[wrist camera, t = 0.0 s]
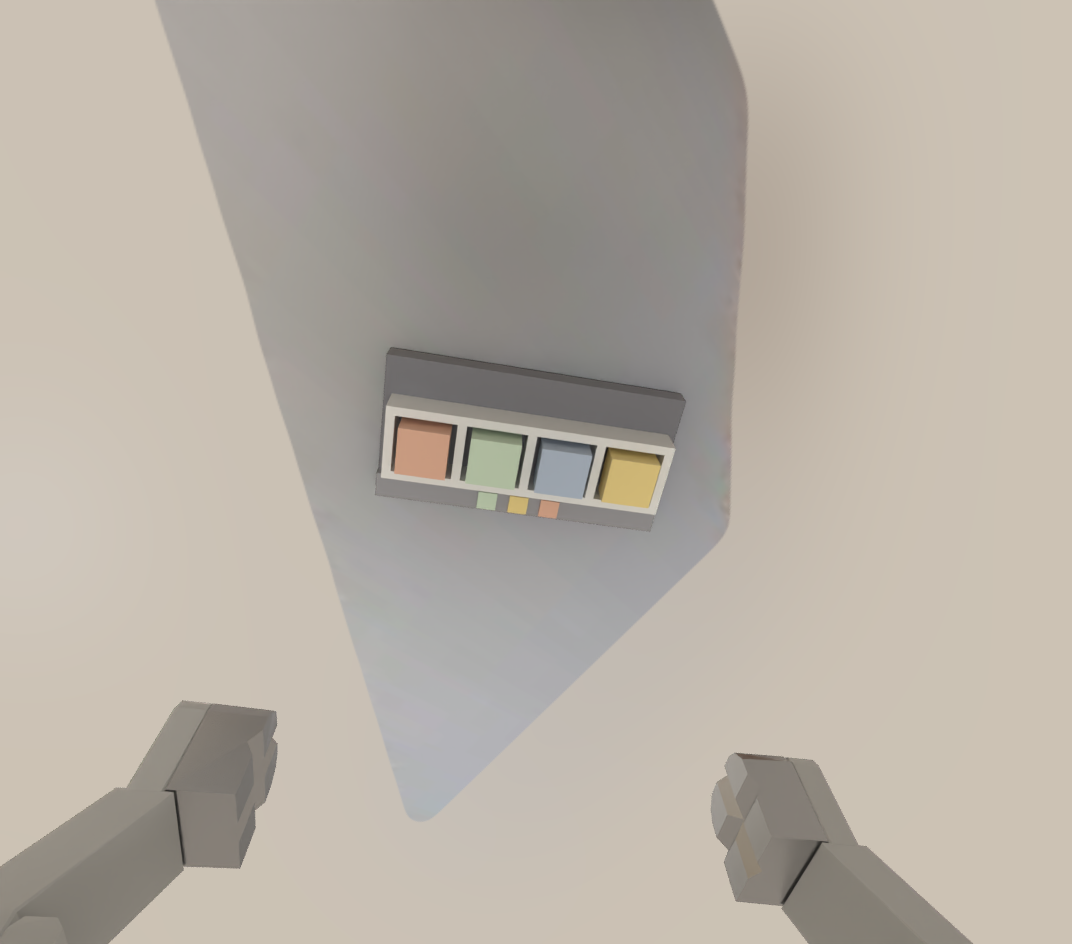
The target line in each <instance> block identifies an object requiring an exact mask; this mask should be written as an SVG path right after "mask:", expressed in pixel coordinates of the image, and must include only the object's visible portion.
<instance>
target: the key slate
mask: <svg viewBox="0 0 1072 944" xmlns="http://www.w3.org/2000/svg"><path fill="white" fill-rule="evenodd" d="M591 460H592V452H591V449H590V445H589V444H584V443H577V442H570V441H564V440H557V439H550V438H543V437H541V442H540V447H539V453H538V458H537V463H536V468H535V473H534V478H533V485H534V493H539V494H546V495H554V496H561V497H568V498H575V499H582V497H583V493H584V489H585V485H586V481H587V477H588V473H589V468H590V464H591Z"/></svg>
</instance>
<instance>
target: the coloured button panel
mask: <svg viewBox="0 0 1072 944" xmlns="http://www.w3.org/2000/svg"><path fill="white" fill-rule="evenodd" d="M685 403H686V401H685V399H684V398H683V396H682V395H681V394H680V393H674V392H667V391H661V390H655V389H649V388H642V387H636V386H630V385H623V384H617V383H611V382H604V381H598V380H592V379H586V378H579V377H573V376H567V375H560V374H554V373H548V372H542V371H535V370H529V369H523V368H516V367H510V366H504V365H498V364H491V363H485V362H479V361H472V360H466V359H460V358H453V357H447V356H441V355H435V354H428V353H422V352H416V351H409V350H403V349H397V348H390V349H389V351H388V353H387V357H386V371H385V385H384V400H383V414H382V428H381V442H380V456H379V469H378V471H377V476H376V490H375V495H378V496H385V497H393V498H400V499H408V500H415V501H423V502H430V503H438V504H445V505H453V506H460V507H468V508H476V509H483V510H491V511H498V512H506V513H513V514H521V515H528V516H536V517H543V518H551V519H558V520H566V521H573V522H581V523H588V524H596V525H604V526H611V527H619V528H626V529H634V530H641V531H649V532H650V530H651V527H652V524H653V520H654V517H655V515H656V511H657V508H658V505H659V502H660V498H661V495H662V492H663V489H664V485H665V482H666V479H667V476H668V472H669V469H670V466H671V463H672V459H673V456H674V453H675V450H676V448H675V446H674V444H673V443H674V439H675V436H676V433H677V429H678V426H679V423H680V420H681V416H682V413H683V410H684V406H685ZM402 417H407V418H414V419H421V420H428V421H435V422H441V423H448V424H453V425H452V433H451V441H450V449H449V457H448V464H447V471H446V476H445V481H444V480H437V479H429V478H422V477H415V476H408V475H400V474H394V469H395V457H396V445H397V433H398V426H399V424H400V421H401V419H402ZM473 427H475V428H482V429H489V430H496V431H503V432H509V433H516V434H522V450H521V455H520V461H519V466H518V472H517V477H516V483H515V488H514V490H510V489H502V488H495V487H488V486H481V485H473V484H466V483H465V479H466V472H467V465H468V458H469V451H470V444H471V437H472V430H473ZM541 437H543V438H550V439H557V440H564V441H570V442H577V443H584V444H589V445H590V449H591V452H592V460H591V464H590V468H589V473H588V477H587V481H586V485H585V489H584V493H583V497H582V499H575V498H568V497H561V496H554V495H546V494H539V493H534V485H533V478H534V473H535V468H536V463H537V458H538V453H539V447H540V442H541ZM608 447H611V448H618V449H625V450H632V451H638V452H645V453H652V454H656V456H657V459H658V461H659V463H660V465H661V468H660V471H659V474H658V478H657V481H656V484H655V488H654V491H653V494H652V498H651V501H650V504H649V508H641V507H634V506H627V505H619V504H612V503H605V502H601V498H600V494H599V490H598V487H599V483H600V479H601V475H602V471H603V467H604V463H605V459H606V455H607V451H608Z"/></svg>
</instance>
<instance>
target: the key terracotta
mask: <svg viewBox="0 0 1072 944" xmlns="http://www.w3.org/2000/svg"><path fill="white" fill-rule="evenodd" d="M452 425H453V424H448V423H441V422H435V421H428V420H421V419H414V418H407V417H402V419H401V421H400V424H399V426H398V433H397V445H396V457H395V469H394V474H400V475H408V476H415V477H422V478H429V479H437V480H444V481H445V476H446V471H447V464H448V457H449V449H450V441H451V433H452Z"/></svg>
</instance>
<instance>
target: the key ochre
mask: <svg viewBox="0 0 1072 944" xmlns="http://www.w3.org/2000/svg"><path fill="white" fill-rule="evenodd" d="M660 468H661V465H660V463H659V461H658V459H657V456H656V454H652V453H645V452H638V451H632V450H625V449H618V448H611V447H608V451H607V455H606V459H605V463H604V467H603V471H602V475H601V479H600V483H599V487H598V490H599V494H600V498H601V502H605V503H612V504H619V505H627V506H634V507H641V508H649V504H650V501H651V498H652V494H653V491H654V488H655V484H656V481H657V478H658V474H659V471H660Z"/></svg>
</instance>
